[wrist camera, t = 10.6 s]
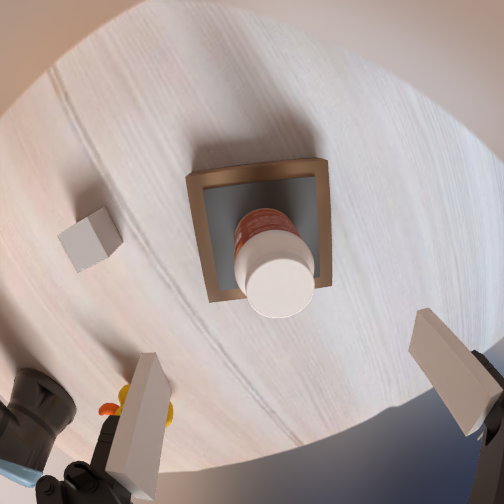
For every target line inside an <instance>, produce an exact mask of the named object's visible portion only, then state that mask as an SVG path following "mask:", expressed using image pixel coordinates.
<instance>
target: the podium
mask: <svg viewBox="0 0 504 504" xmlns="http://www.w3.org/2000/svg"><path fill="white" fill-rule="evenodd" d="M185 178H186V184H187V190H188V196H189V202H190V208H191V214H192V219H193V225H194V230H195V235H196V241H197V246H198V251H199V256H200V261H201V266H202V271H203V276H204V281H205V285H206V290H207V295H208V299H209V303H211V302H220V301H228V300H236V299H244V298H247V296H246V295H245V294H244V293H243V292H242V291H241V289H240V288H239V286H238V284H237V281H236V277H235V271H234V235H235V231H236V228H237V226H238V224H239V222H240V221H241V220H242V218H243V217H245V216H246V215H247V214H248V213H250V212H252V211H254V210H257V209H262V208H270V209H275V210H278V211H280V212H282V213H283V214H285V215H286V216H287V217H288V218H289V219H290V220H291V222H292V223H293V225H294V226H295V228H296V229H297V231H298V232H299V234H300V235H301V237H302V238H303V240H304V241H305V243H306V244H307V246H308V248H309V249H310V251H311V254H312V256H313V260H314V275H313V278H314V283H315V287H314V289H315V288H322V287H328V286H332V232H331V206H330V187H329V172H328V160H325V159H321V158H305V159H293V160H282V161H272V162H263V163H254V164H246V165H238V166H231V167H224V168H217V169H210V170H204V171H197V172H191V173H190V174H189V175H187V176H186V177H185Z"/></svg>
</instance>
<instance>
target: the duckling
mask: <svg viewBox="0 0 504 504" xmlns="http://www.w3.org/2000/svg"><path fill="white" fill-rule="evenodd" d="M130 385H131V384H128V385H125V386H124V387H123V388H122V389H121V390H120V392H119V395H118V397H119V402H120V404H121V406H120V407H119V406H118V405H116V404H114V403H106V404H104V405H102V406H101V407H100V408H99V415H104V414H107V415H119V416H121V413H122V409H123V406H124V403H125V400H126V397H127V394H128V391H129V388H130ZM172 419H173V406H172V404H171V402H169V408H168V414H167V419H166V425H165V428H166V427H167V426H168V425H169V424H170V423H171V422H172Z"/></svg>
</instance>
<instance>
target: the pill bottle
mask: <svg viewBox="0 0 504 504" xmlns="http://www.w3.org/2000/svg"><path fill="white" fill-rule="evenodd" d="M234 271H235V277H236V281H237V284H238V286H239V288H240V289H241V291H242V292H243V293H244V294H245V295H246V296H247V299H248V301H249V303H250V305H251V306H252V308H253V309H254V310H255V311H257V312H258V313H260V314H261V315H264V316H266V317H270V318H285V317H290V316H292V315H294V314H296V313H298V312H300V311H301V310H302V309H304V308H305V307H306V306H307V305H308V303H309V302H310V300H311V298H312V296H313V293H314V287H315V283H314V278H313V275H314V260H313V256H312V254H311V251H310V249H309V248H308V246H307V244H306V243H305V241H304V240H303V238H302V237H301V235H300V234H299V232H298V231H297V229H296V228H295V226H294V225H293V223H292V222H291V220H290V219H289V218H288V217H287V216H286V215H285V214H283V213H282V212H280V211H278V210H275V209H270V208H262V209H257V210H254V211H252V212H250V213H248V214H247V215H246V216H245V217H243V218H242V220H241V221H240V222H239V224H238V226H237V228H236V231H235V235H234Z"/></svg>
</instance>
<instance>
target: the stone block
mask: <svg viewBox="0 0 504 504" xmlns="http://www.w3.org/2000/svg"><path fill="white" fill-rule="evenodd" d="M57 237H58V239H59V241H60V242H61V244H62V246H63V248H64V250H65V252H66V254H67V255H68V257H69V259H70V261H71V263H72V264H73V266H74V268H75V270H76V271H77V273H79V272H81V271H83V270H85V269H87V268H89V267H91V266H92V265H94V264H96V263H98V262H100V261H102V260H104V259H106V258H108V257H109V256H110V255H111V254H112V253H113V252H114V251H115V250H116V249H117V248H118V247H119V246H120V245H121V244H122V243H123V241H122V239H121V237H120V235H119V233H118V231H117V229H116V227H115V225H114V223H113V221H112V219H111V217H110V215H109V213H108V211H107V209H106V207H105V206H104V207H102V208H101V209H99V210H97V211H96V212H94V213H92V214H91V215H89V216H87V217H86V218H84V219H82V220H81V221H79V222H77V223H76V224H74V225H73V226H71V227H70V228H68V229H66V230H65V231H63V232H62V233H60V234H59V235H57Z"/></svg>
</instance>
